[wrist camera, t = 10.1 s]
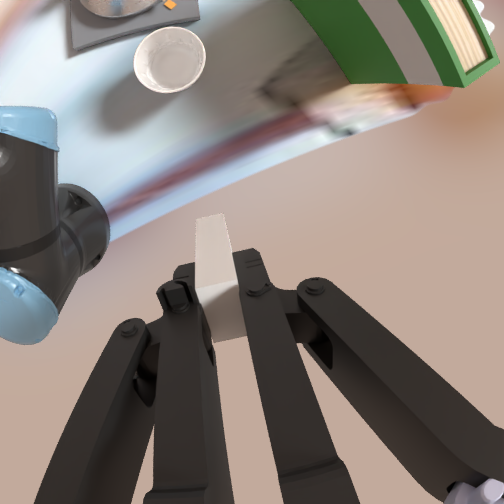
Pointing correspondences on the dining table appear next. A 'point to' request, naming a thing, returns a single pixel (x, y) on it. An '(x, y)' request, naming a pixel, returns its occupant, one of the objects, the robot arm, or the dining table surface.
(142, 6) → the capstan dial
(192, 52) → the white cup
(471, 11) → the hardback book
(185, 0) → the dial base
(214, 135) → the dining table surface
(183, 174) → the dining table surface
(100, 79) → the dining table surface
